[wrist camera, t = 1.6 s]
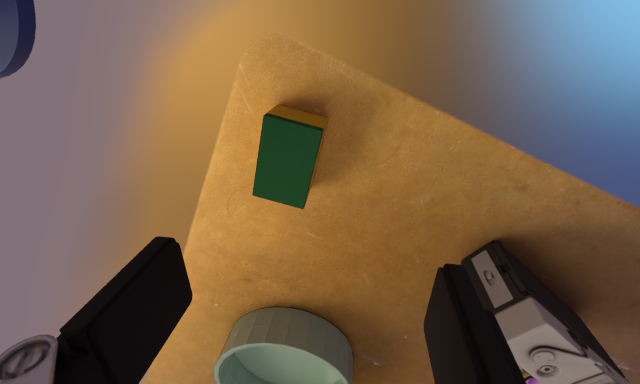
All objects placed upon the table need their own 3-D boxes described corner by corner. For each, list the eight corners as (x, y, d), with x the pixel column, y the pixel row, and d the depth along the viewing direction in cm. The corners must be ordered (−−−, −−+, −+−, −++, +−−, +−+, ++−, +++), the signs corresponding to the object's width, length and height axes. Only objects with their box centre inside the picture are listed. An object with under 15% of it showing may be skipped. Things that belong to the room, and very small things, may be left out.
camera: (428, 279, 32) (453, 372, 23) (497, 236, 28) (557, 326, 19) (509, 345, 35) (558, 450, 26) (580, 313, 31) (665, 422, 22)
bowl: (225, 369, 45) (210, 405, 40) (236, 292, 37) (218, 326, 32) (334, 399, 45) (331, 439, 40) (370, 328, 36) (370, 368, 32)
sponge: (265, 175, 28) (252, 195, 25) (277, 104, 25) (263, 115, 22) (310, 188, 28) (303, 209, 25) (328, 117, 25) (322, 131, 22)
